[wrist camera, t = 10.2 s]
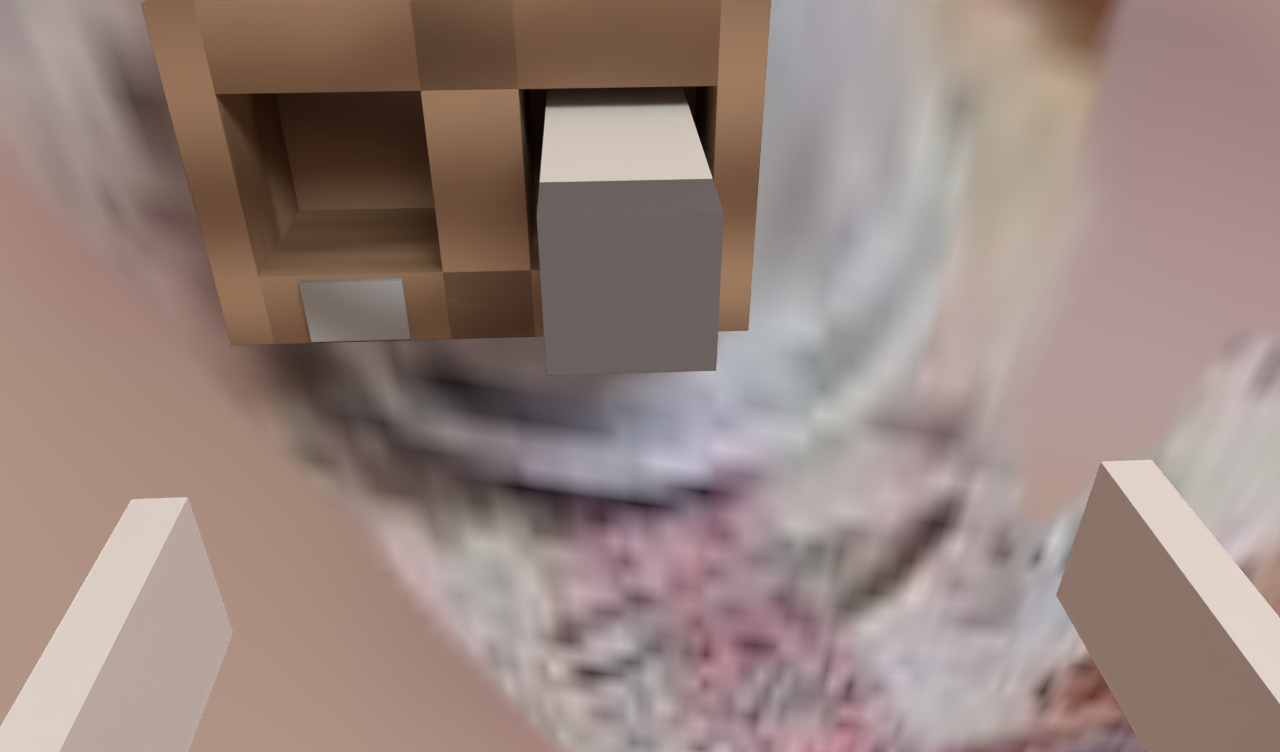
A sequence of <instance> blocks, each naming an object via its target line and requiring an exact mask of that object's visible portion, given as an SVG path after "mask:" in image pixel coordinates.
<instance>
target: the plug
mask: <svg viewBox="0 0 1280 752" xmlns="http://www.w3.org/2000/svg"><path fill="white" fill-rule="evenodd" d="M723 221H724V211H723V208H722V205H721V202H720V199H719V196H718V193H717V190H716V187H715V184H714V181H713V178H712V175H711V172H710V169H709V166H708V163H707V160H706V157H705V154H704V151H703V148H702V145H701V142H700V139H699V136H698V133H697V130H696V127H695V124H694V121H693V118H692V115H691V112H690V109H689V106H688V103H687V100H686V97H685V93H684V90H683V87H682V86H678V87H617V88H556V89H547V99H546V111H545V123H544V135H543V147H542V159H541V171H540V183H539V195H538V207H537V230H538V246H539V262H540V278H541V294H542V311H543V327H544V343H545V359H546V375H547V376H556V375H588V374H621V373H654V372H686V371H716V361H717V341H718V321H719V301H720V281H721V261H722V241H723Z"/></svg>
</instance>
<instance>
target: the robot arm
mask: <svg viewBox="0 0 1280 752" xmlns="http://www.w3.org/2000/svg"><path fill="white" fill-rule="evenodd" d="M1057 597H1058V599H1059V601H1060V602H1061V604H1062V606H1063V608H1064V609H1065V611H1066V613H1067V615H1068V616H1069V618H1070V620H1071V622H1072V623H1073V625H1074V627H1075V629H1076V630H1077V632H1078V634H1079V636H1080V637H1081V639H1082V641H1083V643H1084V644H1085V646H1086V648H1087V650H1088V652H1089V653H1090V655H1091V657H1092V659H1093V660H1094V662H1095V664H1096V666H1097V667H1098V669H1099V671H1100V673H1101V674H1102V676H1103V678H1104V680H1105V681H1106V683H1107V685H1108V687H1109V688H1110V690H1111V692H1112V694H1113V695H1114V697H1115V699H1116V701H1117V702H1118V704H1119V706H1120V708H1121V709H1122V711H1123V713H1124V715H1125V716H1126V718H1127V720H1128V722H1129V723H1130V725H1131V727H1132V729H1133V730H1134V732H1135V734H1136V736H1137V737H1138V739H1139V741H1140V743H1141V744H1142V746H1143V748H1144V750H1145V751H1146V752H1280V618H1279V616H1278V615H1277V614H1276V613H1275V611H1274V610H1273V609H1272V608H1271V606H1270V605H1269V604H1268V603H1267V602H1266V600H1265V599H1264V598H1263V597H1262V595H1261V594H1260V593H1259V592H1258V590H1257V589H1256V588H1255V587H1254V586H1253V584H1252V583H1251V582H1250V581H1249V579H1248V578H1247V577H1246V576H1245V574H1244V573H1243V572H1242V571H1241V569H1240V568H1239V567H1238V566H1237V565H1236V563H1235V562H1234V561H1233V560H1232V558H1231V557H1230V556H1229V555H1228V553H1227V552H1226V551H1225V550H1224V549H1223V547H1222V546H1221V545H1220V544H1219V542H1218V541H1217V540H1216V539H1215V537H1214V536H1213V535H1212V534H1211V533H1210V531H1209V530H1208V529H1207V528H1206V526H1205V525H1204V524H1203V523H1202V521H1201V520H1200V519H1199V518H1198V516H1197V515H1196V514H1195V513H1194V512H1193V510H1192V509H1191V508H1190V507H1189V505H1188V504H1187V503H1186V502H1185V500H1184V499H1183V498H1182V497H1181V496H1180V494H1179V493H1178V492H1177V491H1176V489H1175V488H1174V487H1173V486H1172V484H1171V483H1170V482H1169V481H1168V480H1167V478H1166V477H1165V476H1164V475H1163V473H1162V472H1161V471H1160V470H1159V468H1158V467H1157V466H1156V465H1155V463H1154V462H1153V461H1152V460H1137V461H1111V462H1101V463H1100V466H1099V469H1098V472H1097V475H1096V478H1095V481H1094V484H1093V487H1092V490H1091V493H1090V496H1089V499H1088V502H1087V505H1086V508H1085V511H1084V514H1083V517H1082V520H1081V523H1080V526H1079V529H1078V532H1077V535H1076V538H1075V541H1074V544H1073V547H1072V550H1071V553H1070V556H1069V559H1068V562H1067V565H1066V568H1065V571H1064V574H1063V577H1062V580H1061V583H1060V586H1059V589H1058V592H1057ZM232 635H233V631H232V628H231V625H230V622H229V619H228V616H227V613H226V610H225V607H224V604H223V601H222V598H221V595H220V592H219V589H218V586H217V583H216V580H215V577H214V574H213V571H212V568H211V565H210V562H209V559H208V556H207V553H206V550H205V547H204V544H203V541H202V538H201V535H200V532H199V529H198V526H197V524H196V520H195V517H194V514H193V511H192V509H191V506H190V502H189V500H188V497H181V498H155V499H132V500H131V501H130V503H129V505H128V507H127V508H126V510H125V512H124V514H123V516H122V517H121V519H120V521H119V522H118V524H117V526H116V528H115V529H114V531H113V533H112V534H111V536H110V538H109V540H108V541H107V543H106V545H105V546H104V548H103V550H102V552H101V553H100V555H99V557H98V559H97V560H96V562H95V564H94V565H93V567H92V569H91V571H90V572H89V574H88V576H87V578H86V579H85V581H84V583H83V585H82V586H81V588H80V590H79V591H78V593H77V595H76V597H75V599H74V600H73V602H72V604H71V605H70V607H69V609H68V611H67V612H66V614H65V616H64V618H63V619H62V621H61V623H60V624H59V626H58V628H57V630H56V631H55V633H54V635H53V637H52V638H51V640H50V642H49V643H48V645H47V647H46V649H45V650H44V652H43V654H42V656H41V657H40V659H39V661H38V662H37V664H36V666H35V668H34V669H33V671H32V673H31V675H30V676H29V678H28V680H27V682H26V683H25V685H24V687H23V688H22V690H21V692H20V694H19V696H18V697H17V699H16V701H15V702H14V704H13V706H12V707H11V709H10V711H9V713H8V714H7V716H6V718H5V720H4V721H3V723H2V725H1V727H0V752H189V749H190V747H191V744H192V741H193V739H194V736H195V733H196V731H197V728H198V725H199V723H200V720H201V717H202V715H203V712H204V709H205V707H206V704H207V702H208V699H209V696H210V693H211V691H212V688H213V685H214V683H215V680H216V678H217V675H218V672H219V670H220V667H221V664H222V662H223V659H224V656H225V654H226V651H227V648H228V646H229V643H230V640H231V638H232Z"/></svg>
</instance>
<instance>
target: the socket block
mask: <svg viewBox="0 0 1280 752" xmlns="http://www.w3.org/2000/svg"><path fill="white" fill-rule="evenodd" d="M141 6H142V10H143V14H144V17H145V21H146V25H147V29H148V33H149V36H150V40H151V44H152V48H153V51H154V55H155V59H156V63H157V67H158V70H159V74H160V78H161V82H162V85H163V89H164V93H165V97H166V100H167V104H168V108H169V112H170V116H171V119H172V123H173V127H174V131H175V134H176V138H177V142H178V146H179V150H180V153H181V157H182V161H183V165H184V168H185V172H186V176H187V180H188V184H189V187H190V191H191V195H192V199H193V202H194V206H195V210H196V214H197V217H198V221H199V225H200V229H201V233H202V236H203V240H204V244H205V248H206V251H207V255H208V259H209V263H210V267H211V270H212V274H213V278H214V282H215V285H216V289H217V293H218V297H219V300H220V304H221V308H222V312H223V316H224V319H225V323H226V327H227V331H228V334H229V338H230V342H231V345H260V344H295V343H330V342H365V341H399V340H434V339H469V338H504V337H539V336H544V327H543V311H542V294H541V278H540V262H539V246H538V230H537V207H538V195H539V183H540V171H541V159H542V147H543V135H544V123H545V111H546V99H547V89H556V88H617V87H678V86H682V87H683V90H684V93H685V97H686V100H687V103H688V106H689V109H690V112H691V115H692V118H693V121H694V124H695V127H696V130H697V133H698V136H699V139H700V142H701V145H702V148H703V151H704V154H705V157H706V160H707V163H708V166H709V169H710V172H711V175H712V178H713V181H714V184H715V187H716V190H717V193H718V196H719V199H720V202H721V205H722V208H723V211H724V221H723V241H722V261H721V281H720V301H719V321H718V331H748V325H749V311H750V296H751V282H752V267H753V253H754V239H755V224H756V210H757V195H758V181H759V166H760V152H761V138H762V123H763V109H764V94H765V80H766V66H767V51H768V37H769V22H770V8H771V0H146V1H144V2H143V3H141Z"/></svg>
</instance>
